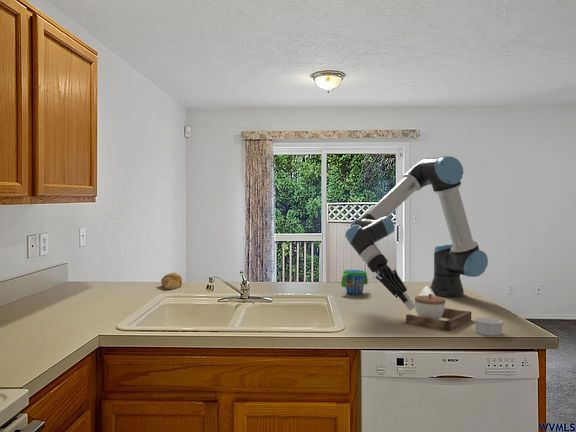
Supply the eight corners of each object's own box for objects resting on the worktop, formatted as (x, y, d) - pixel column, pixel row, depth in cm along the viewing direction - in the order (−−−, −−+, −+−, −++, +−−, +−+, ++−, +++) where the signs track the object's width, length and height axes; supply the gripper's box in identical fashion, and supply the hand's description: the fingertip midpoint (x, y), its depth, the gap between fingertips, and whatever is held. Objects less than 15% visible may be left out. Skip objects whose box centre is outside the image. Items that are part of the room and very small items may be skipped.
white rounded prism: (413, 291, 218) (417, 302, 195) (428, 283, 217) (434, 293, 194) (422, 306, 218) (426, 319, 194) (437, 299, 217) (443, 311, 193)
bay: (405, 323, 176) (406, 314, 176) (430, 313, 192) (430, 305, 192) (448, 331, 166) (449, 322, 166) (471, 319, 183) (471, 311, 183)
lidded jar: (439, 325, 175) (441, 298, 174) (409, 320, 180) (410, 294, 180) (447, 319, 184) (449, 293, 183) (419, 314, 189) (420, 289, 189)
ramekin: (470, 329, 170) (470, 316, 170) (496, 329, 169) (497, 317, 169) (479, 336, 161) (479, 323, 161) (507, 337, 161) (508, 323, 160)
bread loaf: (173, 298, 234) (182, 283, 233) (154, 288, 233) (162, 272, 233) (180, 289, 255) (188, 275, 254) (163, 279, 254) (170, 265, 254)
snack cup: (359, 289, 242) (359, 268, 241) (374, 293, 233) (375, 271, 233) (334, 292, 233) (334, 270, 233) (349, 296, 224) (349, 273, 224)
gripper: (376, 263, 202) (414, 311, 192) (359, 266, 192) (397, 317, 182) (388, 251, 198) (427, 299, 188) (371, 254, 188) (411, 304, 178)
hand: (412, 308), depth 185 cm, fingers closed
